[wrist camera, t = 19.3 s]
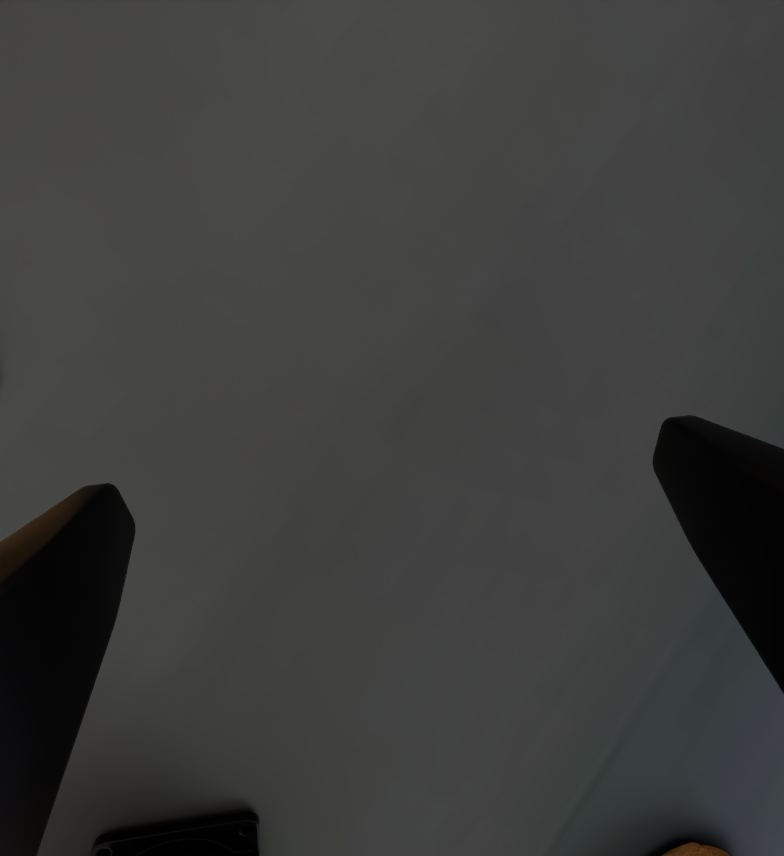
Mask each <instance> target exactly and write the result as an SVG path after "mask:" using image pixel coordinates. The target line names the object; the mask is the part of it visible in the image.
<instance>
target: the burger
mask: <svg viewBox="0 0 784 856" xmlns="http://www.w3.org/2000/svg"><path fill="white" fill-rule="evenodd" d="M662 856H730V855H729V854H727V853H726V852H725V851H723V850H722V849H719V848H716V847H712V846H708V845H699V844H698V843H688V844H686V845H680V846H679V847H676V848H674V849H671V850H669V851H668V852H667V853H665V854H664V855H662Z"/></svg>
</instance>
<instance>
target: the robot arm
mask: <svg viewBox="0 0 784 856" xmlns="http://www.w3.org/2000/svg"><path fill="white" fill-rule="evenodd" d="M653 468H654V471H655V474H656V476H657V478H658V480H659V482H660V484H661V486H662V488H663V490H664V492H665V494H666V496H667V498H668V500H669V502H670V504H671V506H672V508H673V511H674V513H675V515H676V517H677V519H678V521H679V523H680V525H681V527H682V529H683V531H684V533H685V535H686V537H687V539H688V541H689V543H690V545H691V546H692V548H693V550H694V552H695V553H696V555H697V557H698V558H699V560H700V562H701V563H702V565H703V567H704V568H705V570H706V571H707V573H708V575H709V576H710V578H711V579H712V581H713V582H714V584H715V586H716V587H717V589H718V590H719V592H720V594H721V595H722V597H723V598H724V600H725V601H726V603H727V605H728V606H729V608H730V609H731V611H732V613H733V614H734V616H735V617H736V619H737V620H738V622H739V624H740V625H741V627H742V628H743V630H744V631H745V633H746V635H747V636H748V638H749V639H750V641H751V643H752V644H753V646H754V647H755V649H756V650H757V652H758V654H759V655H760V657H761V658H762V660H763V662H764V663H765V665H766V666H767V668H768V669H769V671H770V673H771V674H772V676H773V677H774V679H775V681H776V682H777V684H778V685H779V687H780V688H781V690H782V692H783V693H784V449H782V448H780V447H777V446H774V445H772V444H769V443H766V442H764V441H761V440H758V439H755V438H753V437H750V436H747V435H745V434H742V433H739V432H737V431H734V430H731V429H729V428H726V427H723V426H720V425H718V424H715V423H712V422H710V421H707V420H704V419H702V418H699V417H696V416H691V415H688V416H679V417H671V418H668V419H666V420H665V421H664V422H663V423H662V426H661V429H660V433H659V437H658V440H657V444H656V448H655V452H654V455H653ZM134 537H135V523H134V519H133V517H132V515H131V513H130V511H129V509H128V508H127V506H126V504H125V502H124V500H123V498H122V496H121V494H120V492H119V490H118V489H117V488H116V487H115V486H114V485H113V484H109V483H106V484H97V485H89V486H85V487H82V488H81V489H79V490H78V491H76V492H75V493H73V494H72V495H70V496H69V497H67V498H66V499H64V500H63V501H61V502H60V503H58V504H57V505H55V506H54V507H52V508H51V509H49V510H48V511H46V512H45V513H43V514H42V515H40V516H39V517H37V518H36V519H34V520H33V521H31V522H30V523H28V524H27V525H25V526H24V527H22V528H21V529H19V530H18V531H16V532H15V533H13V534H12V535H10V536H9V537H8V538H6V539H5V540H3V541H2V542H0V856H36V855H37V852H38V849H39V846H40V843H41V840H42V838H43V835H44V832H45V829H46V826H47V823H48V820H49V817H50V814H51V811H52V808H53V805H54V802H55V799H56V796H57V793H58V790H59V787H60V784H61V781H62V778H63V775H64V772H65V770H66V767H67V764H68V761H69V758H70V755H71V752H72V749H73V746H74V743H75V740H76V737H77V734H78V731H79V728H80V725H81V722H82V719H83V716H84V713H85V710H86V707H87V705H88V702H89V699H90V696H91V693H92V690H93V687H94V684H95V681H96V678H97V675H98V672H99V669H100V666H101V663H102V660H103V657H104V654H105V651H106V648H107V645H108V642H109V639H110V637H111V633H112V630H113V627H114V624H115V621H116V617H117V613H118V609H119V605H120V601H121V596H122V592H123V587H124V582H125V578H126V573H127V569H128V564H129V559H130V555H131V550H132V546H133V541H134ZM246 825H248V826H247V827H246ZM103 848H107V849H103ZM90 856H259V817H258V815H257V814H256V813H253V812H243V813H237V814H230V815H224V816H217V817H211V818H204V819H198V820H191V821H185V822H178V823H172V824H165V825H159V826H152V827H146V828H139V829H133V830H126V831H120V832H113V833H107V834H104V835H101V836H99V837H98V838H97V839H96V840H95V842H94V844H93V847H92V850H91V853H90Z"/></svg>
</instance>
